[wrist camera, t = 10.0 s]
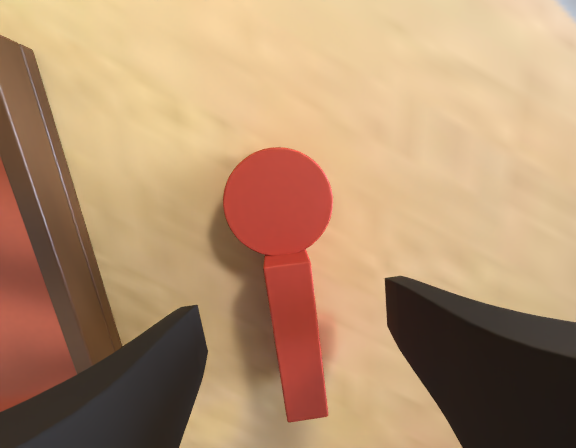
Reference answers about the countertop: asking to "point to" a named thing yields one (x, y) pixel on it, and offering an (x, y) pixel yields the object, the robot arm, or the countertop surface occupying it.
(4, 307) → the sorting tray
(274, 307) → the red spoon
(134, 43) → the countertop surface
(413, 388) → the countertop surface
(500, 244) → the countertop surface
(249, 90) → the countertop surface
